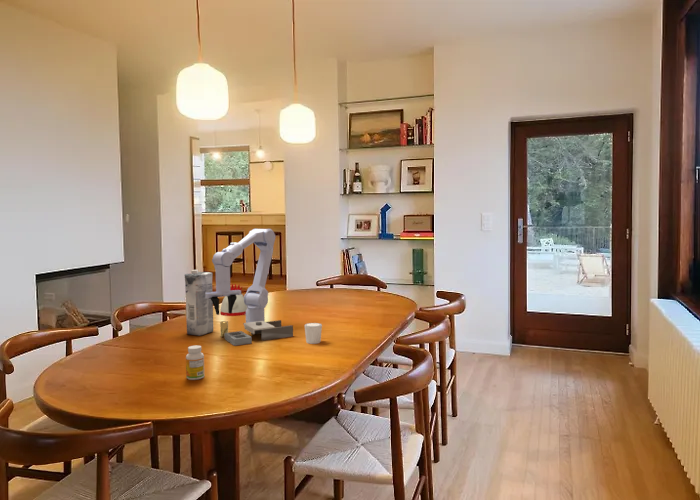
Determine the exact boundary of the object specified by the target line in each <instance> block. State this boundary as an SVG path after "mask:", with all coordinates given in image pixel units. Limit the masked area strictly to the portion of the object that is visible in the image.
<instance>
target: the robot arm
mask: <svg viewBox="0 0 700 500" xmlns="http://www.w3.org/2000/svg"><path fill="white" fill-rule="evenodd" d="M275 241H276V233H275V232H274V230H273V229H272V228H253V229H251V230H249V232H248V234H247V235H245V236H244V237H243V238H242V239H241V240H240V241H238V242H234V241H233V242H230V244H229V245H228V246H227V247H226V248H223V249H222V250H221V251H217V252H216V253H214V254H213V255H212V256H213V257H212V258H211V262H212V263H213V267H214V270H215V291H212V292H209V293H205V298H210V299H211V301H212V303H213V309H215V315H217V316H220V298H219V297H221V298H222V297H225V296H227V297H228V312H229V313H230V314H231V313H232V309H233V305H234V303H235V301H236V299H237V296H236V295H241V294H242V289H241V290H230V287H231V265H232V264H233V262H234V260H235V259H236V258H238V257H239V256H241V255H242V254H243V251H244V249H246V248H248V247H249V246H250V245H252V244H254V246H256V247H257V248H258V249H259V251H260V252H259V255H258V256H259V257H258V261H257V265H256V269H255V274H254V277H253V281H252V285H250V286H248V288H247V290H246V293H245V294H244V295H243V296H244V303H245V304H246V305H247V310H246V314H245V323H248V322H256V321H264V322H266V321H265V320H266V319H265V308H266V306H267V305H268V302H269V290H267V289H266V284H267V279H268V274H269V271H270V266H271V262H272V258H273V254H274V245H275ZM228 294H229V295H228ZM243 326H244V327H245V325H243Z"/></svg>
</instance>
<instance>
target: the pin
mask: <svg viewBox="0 0 700 500" xmlns="http://www.w3.org/2000/svg"><path fill="white" fill-rule="evenodd" d="M219 323H220V325H219V326H220V338H225V333H229V321H226V320H224V321H220V322H219Z"/></svg>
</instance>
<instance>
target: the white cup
mask: <svg viewBox="0 0 700 500" xmlns="http://www.w3.org/2000/svg"><path fill="white" fill-rule="evenodd" d="M322 328H323V325H322V323H321V322H320V323H318V322H308V323H305V324H304V334H305V341H306V342H305V343H306V344H310V345H311V344H312V345H315V344H320V343H321V342H322V341H321V340H322Z"/></svg>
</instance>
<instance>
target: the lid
mask: <svg viewBox="0 0 700 500" xmlns="http://www.w3.org/2000/svg"><path fill="white" fill-rule="evenodd" d="M266 322H267V321H265V322H264V321H256V322H248V323H246V322H243V324H242V325H243V326H244V325H245V326H244V330H246V331H248V332H249V333H250V334H251V333H253V335H256V334H255V330H263V329H270V328H275V326H273V325H271V324H269V323H266Z"/></svg>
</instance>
